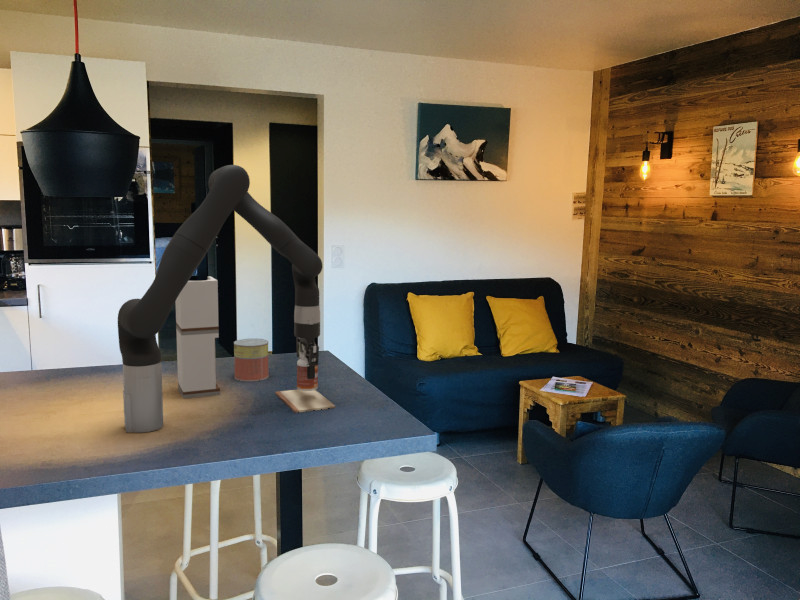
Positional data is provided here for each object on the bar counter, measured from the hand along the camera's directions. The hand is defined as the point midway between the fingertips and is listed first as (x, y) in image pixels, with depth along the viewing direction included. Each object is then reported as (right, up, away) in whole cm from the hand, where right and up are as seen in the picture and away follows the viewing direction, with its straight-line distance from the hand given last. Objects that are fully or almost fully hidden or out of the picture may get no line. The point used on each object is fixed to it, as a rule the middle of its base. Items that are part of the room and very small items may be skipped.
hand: (307, 375), depth 193 cm
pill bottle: (0, -4, +1) cm, 4 cm away
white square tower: (-34, -6, +7) cm, 36 cm away
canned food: (-22, -4, +25) cm, 34 cm away
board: (-1, -8, +1) cm, 8 cm away
